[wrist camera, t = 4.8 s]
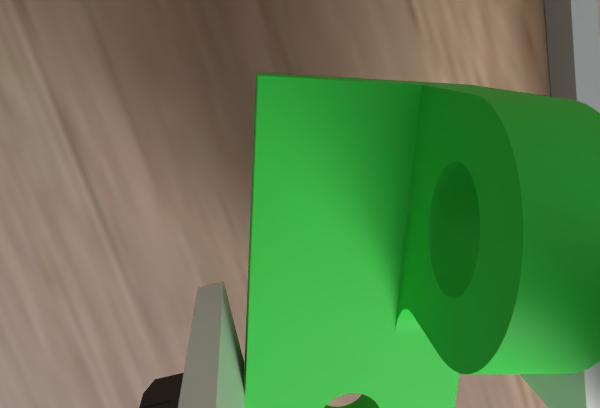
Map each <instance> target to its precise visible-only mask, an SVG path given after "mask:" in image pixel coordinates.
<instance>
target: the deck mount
mask: <svg viewBox="0 0 600 408" xmlns="http://www.w3.org/2000/svg"><path fill="white" fill-rule="evenodd" d="M544 6H545V19H546V33H547V47H548V60H549V74H550V87H551V97H557V98H564V99H571V100H575V101H579V102H582V103H584V104H587V105H589V106H590V107H592V108H593V109H595V110H596V111H598V112H599V113H600V34H599V14H598V0H544Z"/></svg>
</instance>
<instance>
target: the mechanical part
mask: <svg viewBox="0 0 600 408" xmlns="http://www.w3.org/2000/svg"><path fill="white" fill-rule="evenodd" d="M599 361H600V113H599V112H598V111H596V110H595V109H593V108H592V107H590V106H589V105H587V104H584V103H582V102H579V101H575V100H571V99H564V98H557V97H550V96H543V95H536V94H529V93H522V92H516V91H509V90H502V89H495V88H488V87H481V86H474V85H464V84H446V83H429V82H412V81H394V80H377V79H359V78H342V77H325V76H307V75H290V74H273V73H256V88H255V113H254V139H253V164H252V190H251V215H250V241H249V266H248V292H247V317H246V343H245V368H244V382H245V408H455V402H456V395H457V388H458V381H459V374H460V373H461V374H575V373H579V372H582V371H585V370H587V369H589V368H591V367H592V366H594V365H595V364H597V363H598V362H599ZM348 393H359V394H362V395H361V396H360V397H359V398H358V399H357V400H356V401H355V402H353V403H351V404H349V405H346V406H342V407H332V406H328V405H327V404H328V403H329V402H330V401H331V400H333V399H334V398H336V397H338V396H340V395H343V394H348Z"/></svg>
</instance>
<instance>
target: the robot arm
mask: <svg viewBox="0 0 600 408" xmlns="http://www.w3.org/2000/svg"><path fill="white" fill-rule="evenodd" d="M520 375H521V376H522V377H523V378H524V379H525V381H526V382H527V383H528V384H529V385H530V386H531V387H532V389H533V390H534V391H535V392H536V393H537V394H538V396H539V397H540V398H541V399H542V400H543V401H544V402H545V404H546V405H547V406H548V407H549V408H600V361H599V362H598V363H597V364H595V365H594V366H592V367H591V368H589V369H587V370H585V371H582V372H579V373H575V374H520ZM139 408H245V382H244V360H243V356H242V352H241V348H240V344H239V341H238V337H237V333H236V329H235V325H234V321H233V317H232V313H231V309H230V305H229V301H228V297H227V293H226V289H225V285H224V282H220V283H215V284H211V285H207V286H202V287H198V291H197V297H196V302H195V308H194V314H193V320H192V326H191V332H190V338H189V344H188V350H187V356H186V362H185V368H184V373H181V374H177V375H172V376H168V377H164V378H159V379H155V380H154V381H153V383H152V384H151V385H150V386H149V387H148V389H147V390H146V391H145V392H144V393H143V397H142V400H141V404H140V407H139Z"/></svg>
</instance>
